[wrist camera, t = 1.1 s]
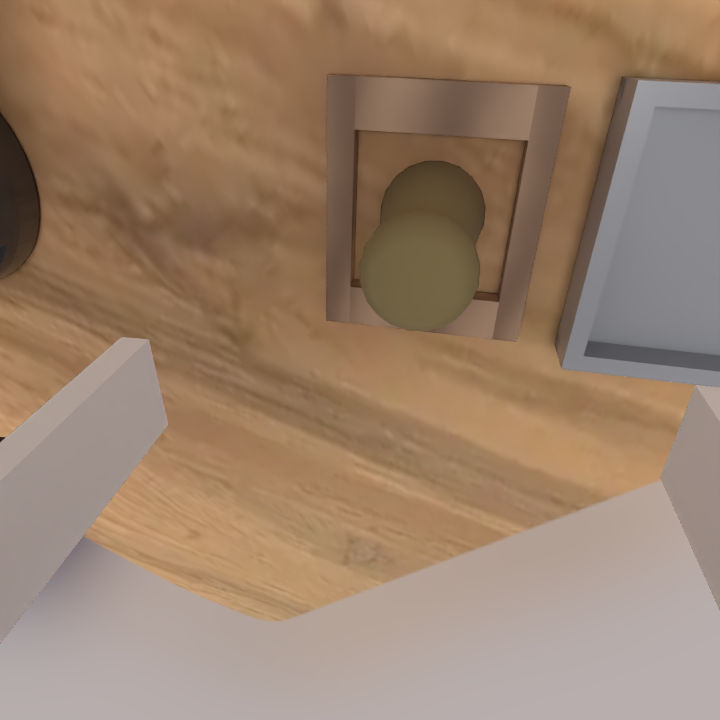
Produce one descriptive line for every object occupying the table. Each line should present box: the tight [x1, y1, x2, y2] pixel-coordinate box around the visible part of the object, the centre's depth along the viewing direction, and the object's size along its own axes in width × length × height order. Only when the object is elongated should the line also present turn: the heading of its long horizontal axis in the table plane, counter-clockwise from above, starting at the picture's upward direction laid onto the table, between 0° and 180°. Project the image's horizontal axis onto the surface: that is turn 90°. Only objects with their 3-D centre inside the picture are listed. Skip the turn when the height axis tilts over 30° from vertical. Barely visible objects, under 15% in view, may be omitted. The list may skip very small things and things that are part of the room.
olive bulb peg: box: [360, 161, 485, 331], centre depth 27 cm, size 6×6×11 cm
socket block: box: [326, 74, 571, 342], centre depth 31 cm, size 12×14×1 cm
